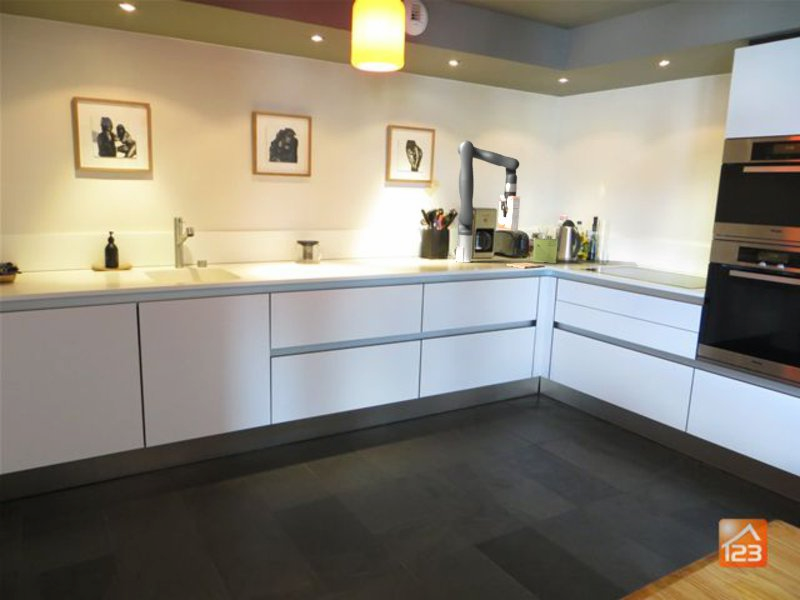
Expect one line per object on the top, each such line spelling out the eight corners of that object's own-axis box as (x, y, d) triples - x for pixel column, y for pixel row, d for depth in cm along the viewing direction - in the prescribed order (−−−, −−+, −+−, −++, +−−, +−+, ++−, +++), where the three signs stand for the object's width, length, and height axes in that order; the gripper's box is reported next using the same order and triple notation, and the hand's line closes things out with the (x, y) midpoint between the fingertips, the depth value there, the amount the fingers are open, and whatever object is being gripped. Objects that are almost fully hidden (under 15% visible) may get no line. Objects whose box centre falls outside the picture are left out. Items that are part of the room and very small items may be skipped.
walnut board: (524, 268, 350) (524, 266, 350) (506, 265, 360) (506, 263, 360) (544, 266, 363) (544, 265, 363) (526, 264, 373) (526, 262, 373)
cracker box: (497, 228, 376) (499, 195, 372) (505, 228, 378) (507, 195, 375) (510, 229, 363) (512, 195, 360) (518, 229, 366) (520, 196, 362)
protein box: (555, 263, 386) (558, 240, 383) (532, 261, 391) (534, 238, 388) (556, 261, 396) (558, 239, 393) (533, 260, 400) (535, 237, 398)
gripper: (512, 191, 374) (510, 217, 377) (498, 190, 365) (496, 217, 368) (522, 191, 368) (520, 217, 371) (507, 190, 359) (505, 217, 362)
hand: (508, 217), depth 370 cm, fingers closed on cracker box, 6 cm apart
